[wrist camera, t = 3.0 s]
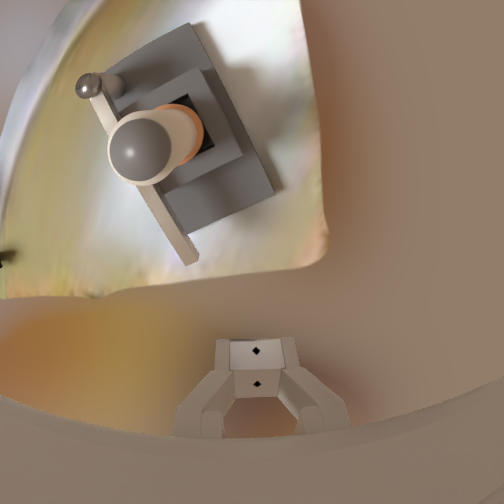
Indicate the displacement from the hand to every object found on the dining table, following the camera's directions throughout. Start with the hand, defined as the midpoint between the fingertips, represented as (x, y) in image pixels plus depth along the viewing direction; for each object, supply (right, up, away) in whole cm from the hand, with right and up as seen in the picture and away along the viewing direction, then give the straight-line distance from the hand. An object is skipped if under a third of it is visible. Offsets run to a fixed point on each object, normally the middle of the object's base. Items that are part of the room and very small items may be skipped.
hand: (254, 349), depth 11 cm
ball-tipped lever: (-9, +11, +10) cm, 17 cm away
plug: (-6, +14, +12) cm, 20 cm away
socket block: (-6, +15, +13) cm, 21 cm away
